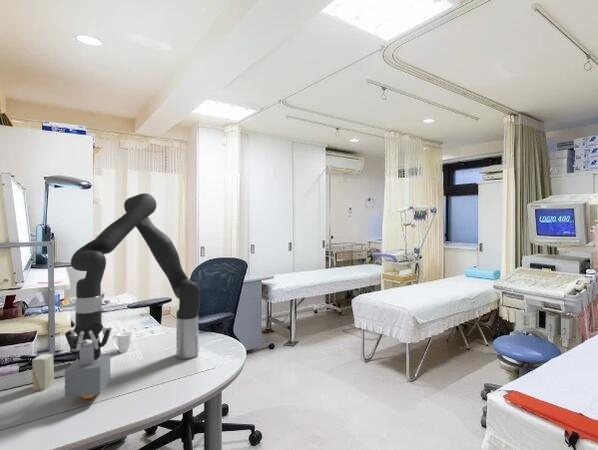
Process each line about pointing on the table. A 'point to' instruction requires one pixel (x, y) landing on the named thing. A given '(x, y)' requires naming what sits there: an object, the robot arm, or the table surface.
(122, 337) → the cup
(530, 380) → the table surface
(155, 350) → the table surface
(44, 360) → the box
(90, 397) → the ball
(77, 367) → the grey stepped block
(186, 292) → the robot arm
